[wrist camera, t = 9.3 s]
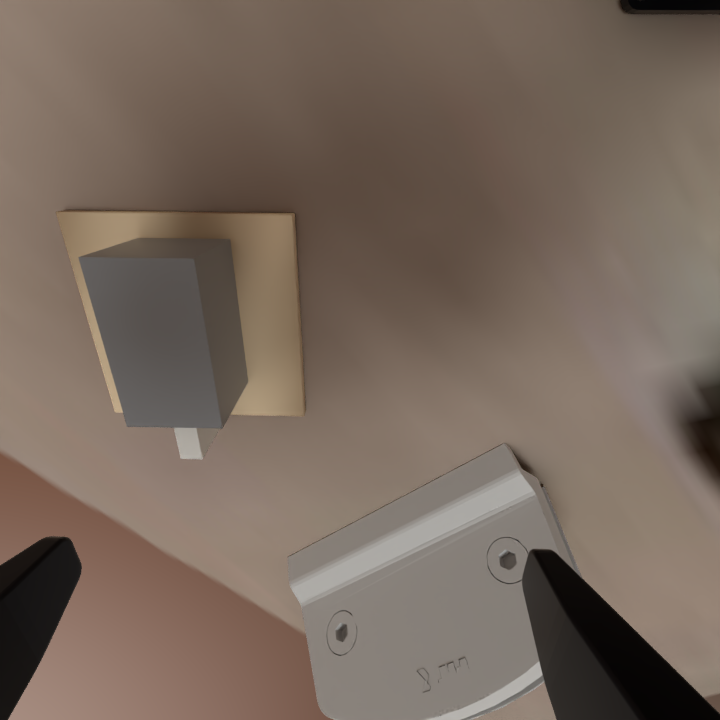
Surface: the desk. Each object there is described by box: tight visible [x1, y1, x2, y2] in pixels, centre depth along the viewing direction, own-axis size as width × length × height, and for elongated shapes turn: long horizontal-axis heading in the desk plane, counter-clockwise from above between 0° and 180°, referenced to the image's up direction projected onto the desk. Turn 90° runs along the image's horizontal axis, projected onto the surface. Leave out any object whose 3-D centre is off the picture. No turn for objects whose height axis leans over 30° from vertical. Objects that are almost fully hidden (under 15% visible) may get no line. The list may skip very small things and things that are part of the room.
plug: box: [78, 238, 248, 459], centre depth 18 cm, size 4×9×4 cm
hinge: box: [288, 443, 582, 720], centre depth 23 cm, size 17×5×10 cm, turn 127°
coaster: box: [56, 210, 306, 416], centre depth 20 cm, size 10×10×1 cm
